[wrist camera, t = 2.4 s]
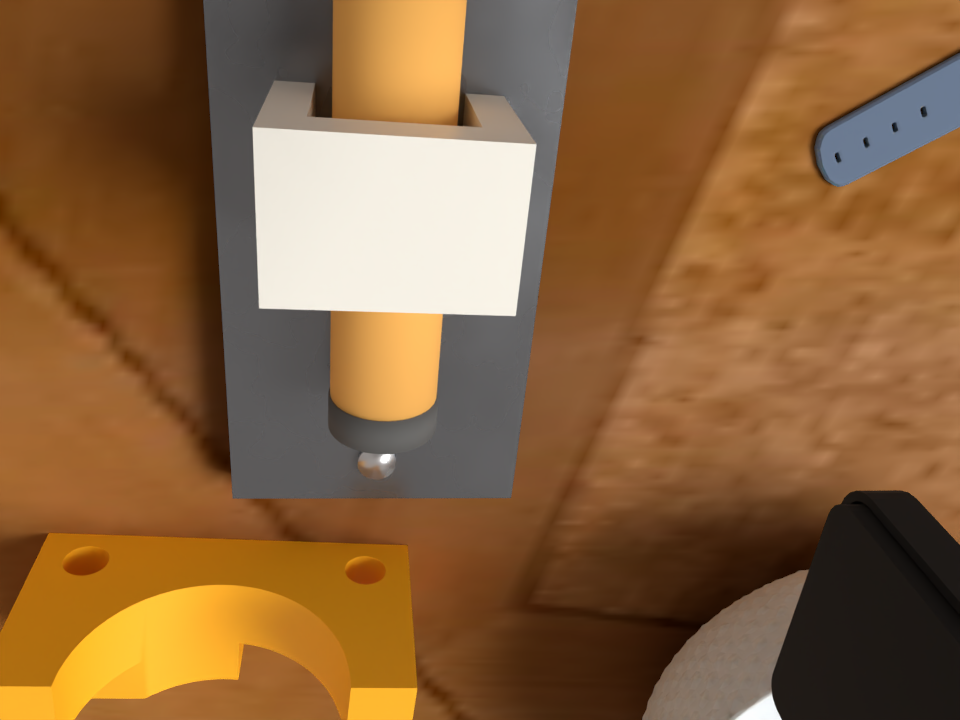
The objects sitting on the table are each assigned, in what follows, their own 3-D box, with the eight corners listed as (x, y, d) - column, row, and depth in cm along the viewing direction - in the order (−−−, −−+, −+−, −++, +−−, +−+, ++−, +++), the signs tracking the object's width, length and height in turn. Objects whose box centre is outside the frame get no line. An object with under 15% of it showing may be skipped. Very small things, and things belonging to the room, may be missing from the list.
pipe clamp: (61, 623, 31) (-7, 789, 25) (50, 529, 29) (-26, 686, 23) (395, 629, 33) (401, 783, 27) (407, 541, 31) (417, 688, 25)
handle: (330, -152, 19) (332, -158, 16) (468, -137, 20) (492, -140, 17) (327, 395, 26) (328, 455, 23) (429, 395, 26) (442, 453, 24)
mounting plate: (190, -382, 18) (177, -402, 17) (608, -322, 19) (624, -336, 18) (237, 475, 28) (231, 502, 27) (506, 476, 29) (511, 501, 28)
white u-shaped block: (274, 80, 21) (252, 127, 17) (503, 96, 22) (536, 144, 18) (278, 232, 23) (259, 308, 19) (489, 241, 24) (515, 316, 20)
